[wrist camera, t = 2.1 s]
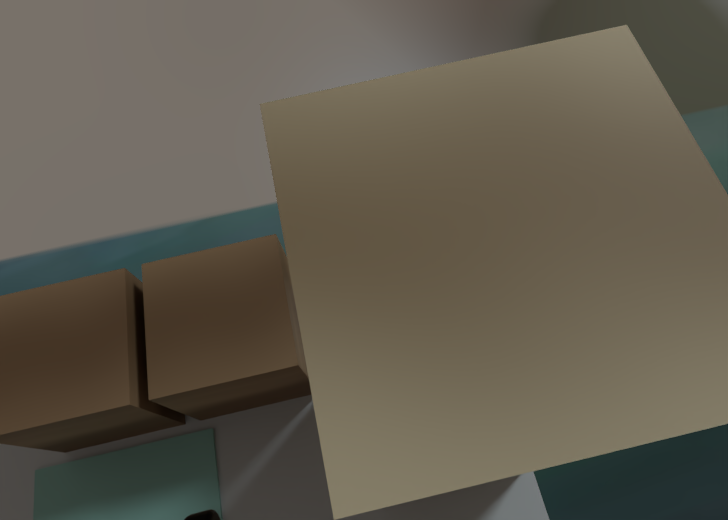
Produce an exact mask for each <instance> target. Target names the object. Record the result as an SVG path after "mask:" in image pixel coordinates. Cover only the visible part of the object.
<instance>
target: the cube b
mask: <svg viewBox="0 0 728 520" xmlns="http://www.w3.org/2000/svg"><path fill="white" fill-rule="evenodd" d="M142 279H143V298H144V318H145V337H146V357H147V376H148V396H149V400H150V401H152V402H155V403H157V404H160V405H162V406H165V407H167V408H170V409H172V410H175V411H177V412H180V413H182V414H185V415H187V416H190V417H193V418H195V419H198V420H200V421H201V420H205V419H210V418H214V417H218V416H222V415H227V414H231V413H235V412H239V411H244V410H248V409H252V408H256V407H261V406H265V405H269V404H273V403H278V402H282V401H286V400H290V399H295V398H299V397H303V396H307V395H311V388H310V383H309V377H308V371H307V366H306V360H305V355H304V349H303V343H302V338H301V332H300V327H299V321H298V315H297V310H296V304H295V298H294V293H293V287H292V282H291V276H290V270H289V265H288V259H287V257H286V255H285V253H284V250H283V248H282V246H281V244H280V242H279V240H278V238H277V235H276V234H274V235H270V236H265V237H261V238H256V239H252V240H247V241H243V242H238V243H234V244H229V245H225V246H221V247H216V248H212V249H207V250H203V251H198V252H194V253H189V254H185V255H181V256H176V257H172V258H167V259H163V260H158V261H154V262H149V263H145V264H142Z"/></svg>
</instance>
